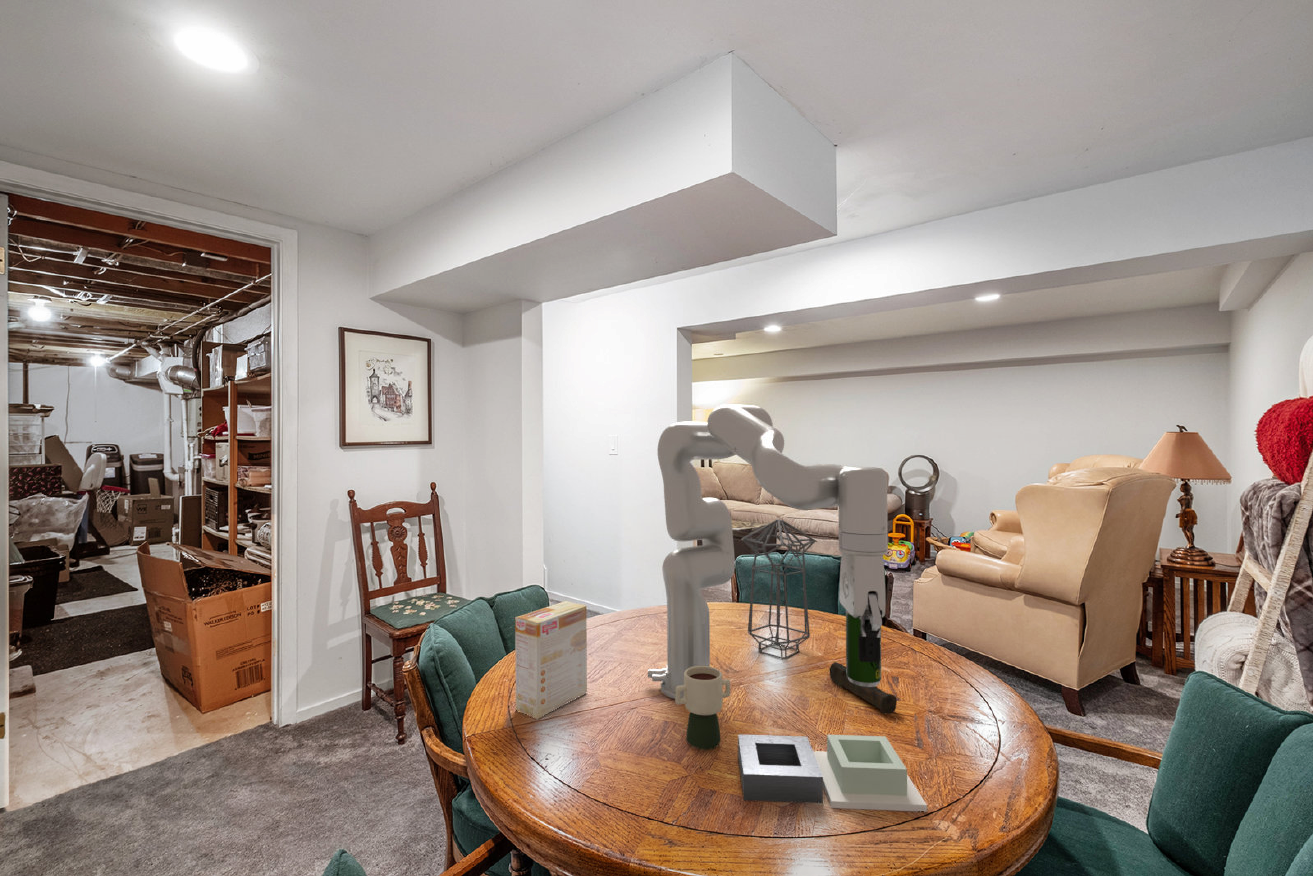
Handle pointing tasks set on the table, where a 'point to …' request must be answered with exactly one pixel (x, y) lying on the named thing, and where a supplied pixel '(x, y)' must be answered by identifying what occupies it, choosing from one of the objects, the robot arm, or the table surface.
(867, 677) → the beer can
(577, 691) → the coffeecake box
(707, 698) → the character mug
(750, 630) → the geometric lantern
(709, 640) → the robot arm
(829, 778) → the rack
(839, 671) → the hand tool
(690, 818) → the table surface
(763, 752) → the socket block
